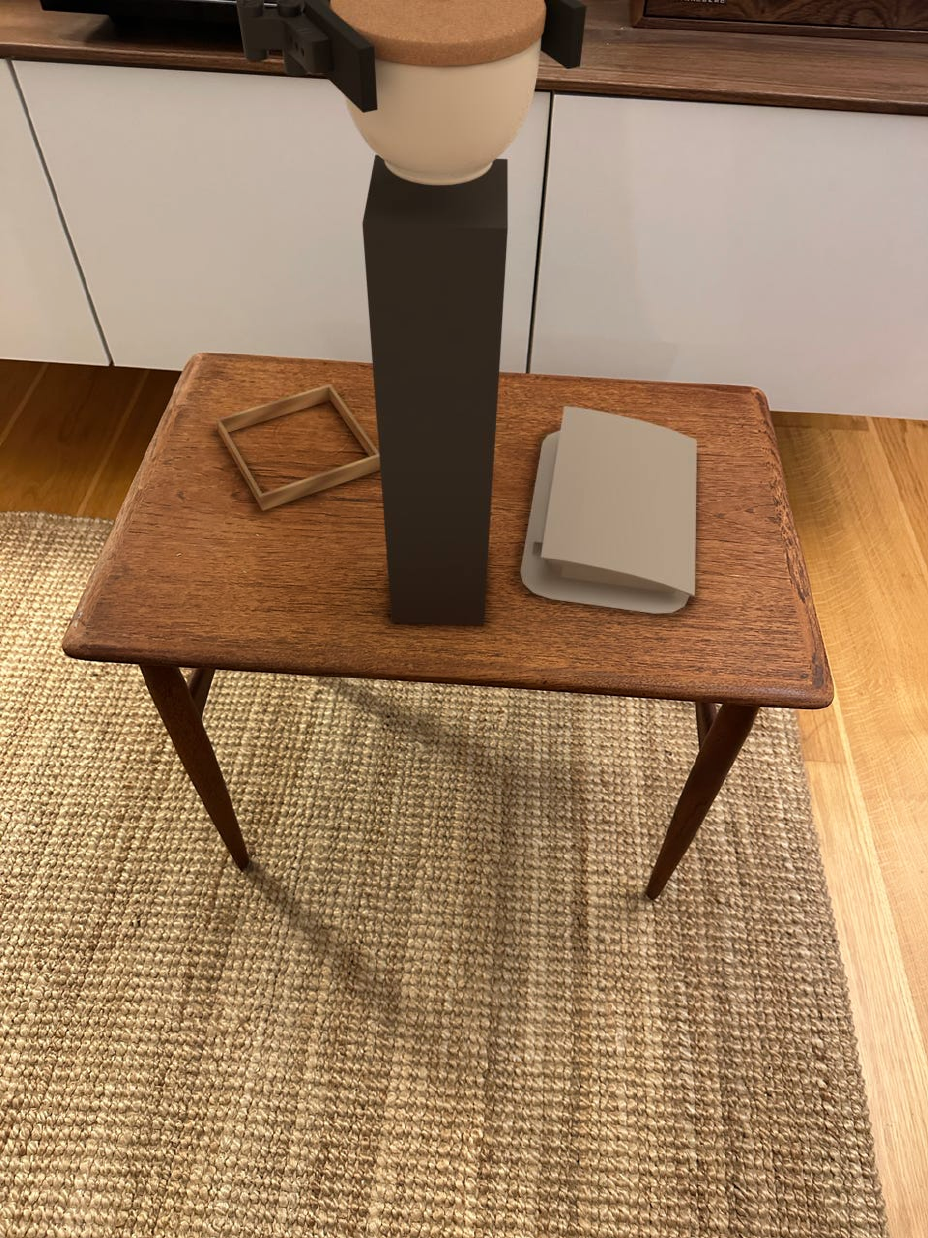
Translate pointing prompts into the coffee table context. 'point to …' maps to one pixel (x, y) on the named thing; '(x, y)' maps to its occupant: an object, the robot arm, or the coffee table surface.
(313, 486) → the empty wooden frame
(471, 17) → the trinket box
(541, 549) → the beige covered tray
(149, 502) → the coffee table surface
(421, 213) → the pedestal
